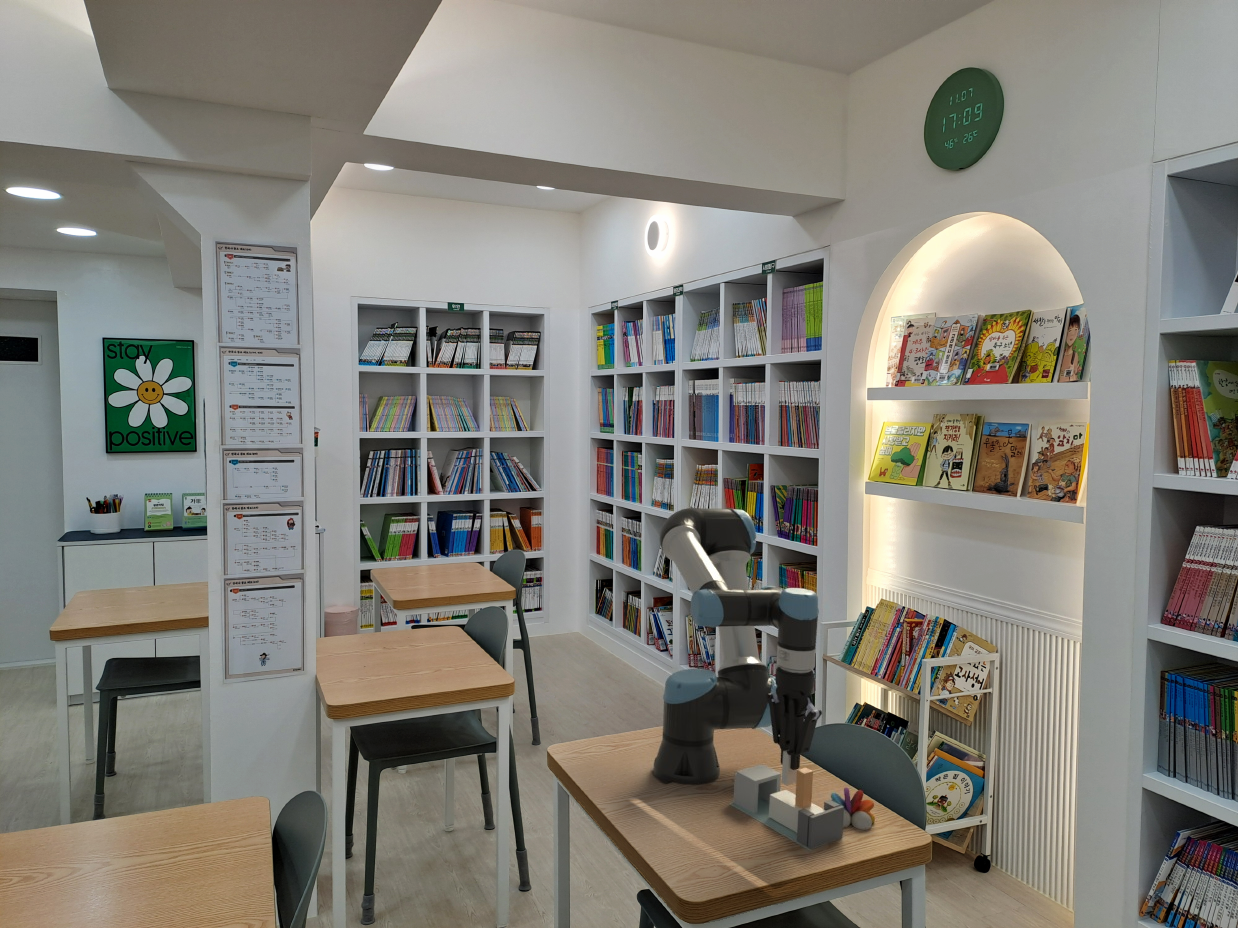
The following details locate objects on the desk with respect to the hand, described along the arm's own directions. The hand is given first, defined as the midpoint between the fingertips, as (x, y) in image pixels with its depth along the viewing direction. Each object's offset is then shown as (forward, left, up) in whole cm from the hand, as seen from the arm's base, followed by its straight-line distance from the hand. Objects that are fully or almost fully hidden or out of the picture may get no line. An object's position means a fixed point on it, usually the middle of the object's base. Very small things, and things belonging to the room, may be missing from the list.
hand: (788, 782), depth 166 cm
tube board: (-1, 0, -9) cm, 9 cm away
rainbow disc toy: (+6, +12, -9) cm, 16 cm away
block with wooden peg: (+3, 0, -8) cm, 8 cm away
